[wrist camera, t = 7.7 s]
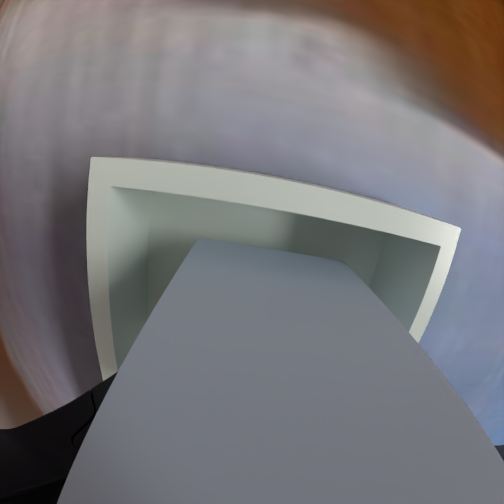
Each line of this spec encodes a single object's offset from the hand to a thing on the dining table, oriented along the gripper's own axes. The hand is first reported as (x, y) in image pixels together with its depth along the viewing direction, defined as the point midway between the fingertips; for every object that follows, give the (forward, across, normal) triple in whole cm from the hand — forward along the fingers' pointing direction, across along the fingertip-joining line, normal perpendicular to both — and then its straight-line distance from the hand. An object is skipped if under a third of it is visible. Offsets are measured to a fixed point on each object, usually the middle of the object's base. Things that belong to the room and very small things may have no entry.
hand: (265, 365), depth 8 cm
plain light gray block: (+3, 0, 0) cm, 3 cm away
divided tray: (+6, 0, +5) cm, 7 cm away
